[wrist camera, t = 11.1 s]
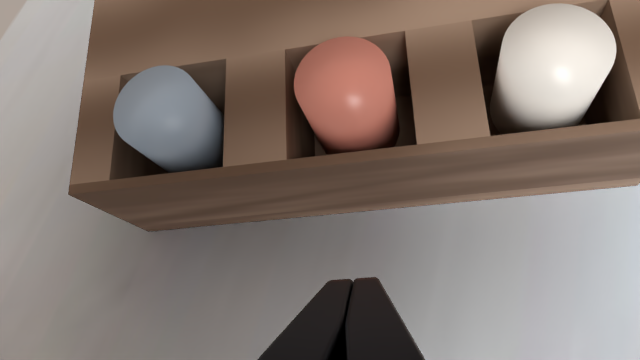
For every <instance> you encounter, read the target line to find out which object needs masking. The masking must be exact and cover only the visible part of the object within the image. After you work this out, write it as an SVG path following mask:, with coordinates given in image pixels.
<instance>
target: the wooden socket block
mask: <svg viewBox="0 0 640 360" xmlns="http://www.w3.org/2000/svg"><path fill="white" fill-rule="evenodd" d="M561 3H562V4H571V5H576V6H579V7H582V8H585V9H587V10H589V11H591V12H593V13H595V14H596V15H597V16H599V17H600V18H601V19H602V20H603V21H604V22H605V23H606V24H607V25H608V26H609V28H610V29H611V31H612V33H613V35H614V38H615V42H616V58H615V61H614V64H613V66H612V68H611V70H610V72H609V74H608V75H607V77H606V79H605V80H604V82H603V84H602V86H601V87H600V89H599V91H598V92H597V94H596V96H595V98H594V99H593V101H592V103H591V104H590V106H589V108H588V110H587V111H586V113H585V115H584V116H583V118H582V120H581V122H580V123H579V125H578V126H572V127H564V128H555V129H547V130H538V131H529V132H521V133H512V134H503V135H502V134H501V133H500V132H499V131H498V130H497V128H496V127H495V125H494V123H493V121H492V119H491V115H490V102H491V97H492V91H493V86H494V81H495V76H496V71H497V66H498V61H499V56H500V51H501V46H502V41H503V37H504V35H505V32H506V31H507V29H508V27H509V26H510V25H511V23H512V22H513V21H514V20H515V19H516V18H518V17H519V16H520V15H521V14H523V13H525V12H526V11H528V10H530V9H533V8H535V7H538V6H542V5H547V4H561ZM345 36H349V37H358V38H362V39H365V40H368V41H370V42H372V43H373V44H375V45H376V46H377V47H379V48H380V49H381V50H382V51H383V53H384V54H385V55H386V57H387V59H388V61H389V64H390V68H391V74H392V80H393V86H394V93H395V99H396V105H397V111H398V118H399V124H400V132H399V137H398V140H397V143H396V145H395V146H394V147H391V148H382V149H374V150H365V151H357V152H348V153H339V154H331V155H327V154H326V153H325V151H324V150H323V148H322V146H321V144H320V142H319V141H318V139H317V137H316V135H315V133H314V131H313V129H312V127H311V126H310V124H309V122H308V120H307V118H306V116H305V114H304V112H303V111H302V109H301V107H300V105H299V103H298V101H297V99H296V96H295V92H294V78H295V73H296V70H297V68H298V66H299V64H300V62H301V61H302V59H303V58H304V57H305V56H306V54H307V53H308V52H309V51H311V50H312V49H313V48H314V47H316V46H317V45H319V44H321V43H322V42H325V41H327V40H330V39H333V38H337V37H345ZM162 65H169V66H174V67H178V68H180V69H182V70H184V71H185V72H187V73H188V74H189V75H190V76H191V77H192V79H193V80H194V81H195V82H196V83H197V84H198V86H199V87H200V88H201V89H202V90H203V91H204V93H205V94H206V95H207V96H208V97H209V98H210V100H211V101H212V102H213V103H214V104H215V105H216V107H217V108H218V109H219V110H220V111H221V112H222V114H223V115H224V149H223V167H218V168H210V169H201V170H192V171H184V172H175V173H168V172H167V171H166V170H164V169H163V168H161V167H160V166H159V165H157V164H156V163H154V162H153V161H152V160H150V159H149V158H147V157H146V156H145V155H143V154H142V153H140V152H139V151H138V150H136V149H135V148H133V147H132V146H131V145H129V144H128V143H126V142H125V141H124V140H123V139H122V138H121V137H120V136H119V134H118V133H117V131H116V129H115V126H114V121H113V111H114V105H115V102H116V100H117V97H118V95H119V93H120V92H121V90H122V89H123V87H124V86H125V85H126V84H127V83H128V82H129V81H130V80H131V79H132V78H133V77H134V76H136V75H137V74H139V73H140V72H142V71H144V70H146V69H149V68H151V67H155V66H162ZM639 183H640V0H95V2H94V10H93V17H92V24H91V31H90V39H89V46H88V53H87V61H86V68H85V75H84V83H83V90H82V97H81V105H80V112H79V119H78V127H77V134H76V141H75V149H74V156H73V163H72V170H71V178H70V185H69V192H68V195H70V196H72V197H75V198H77V199H79V200H81V201H83V202H85V203H88V204H90V205H92V206H94V207H96V208H98V209H101V210H103V211H105V212H107V213H109V214H112V215H114V216H116V217H118V218H120V219H122V220H125V221H127V222H129V223H131V224H133V225H135V226H138V227H140V228H142V229H144V230H146V231H158V230H169V229H180V228H190V227H201V226H212V225H222V224H233V223H243V222H254V221H265V220H275V219H286V218H297V217H307V216H318V215H328V214H339V213H350V212H360V211H371V210H382V209H392V208H403V207H413V206H424V205H435V204H445V203H456V202H467V201H477V200H488V199H498V198H509V197H520V196H530V195H541V194H551V193H562V192H573V191H583V190H594V189H605V188H615V187H626V186H636V185H638V184H639Z"/></svg>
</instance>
